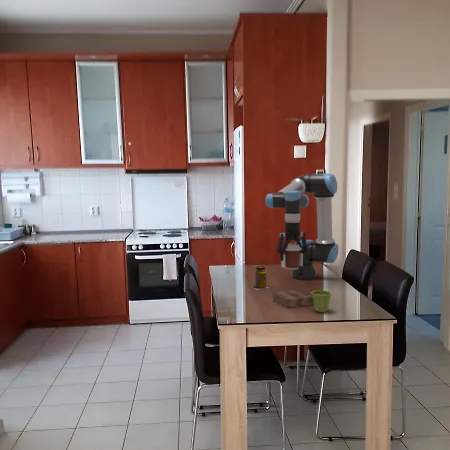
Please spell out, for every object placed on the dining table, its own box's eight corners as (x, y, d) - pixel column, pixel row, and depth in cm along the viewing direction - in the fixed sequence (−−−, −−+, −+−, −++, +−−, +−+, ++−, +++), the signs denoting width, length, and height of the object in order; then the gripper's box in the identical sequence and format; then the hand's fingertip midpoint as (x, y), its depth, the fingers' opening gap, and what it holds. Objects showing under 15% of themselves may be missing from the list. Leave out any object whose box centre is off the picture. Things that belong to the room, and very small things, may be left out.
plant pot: (308, 308, 221) (309, 290, 220) (327, 307, 222) (328, 289, 221) (314, 313, 212) (314, 295, 211) (334, 313, 213) (334, 294, 212)
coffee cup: (287, 270, 225) (287, 246, 223) (280, 267, 233) (280, 243, 232) (304, 269, 227) (304, 245, 226) (296, 266, 236) (296, 243, 235)
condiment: (269, 287, 261) (269, 267, 259) (257, 290, 256) (257, 269, 255) (261, 285, 267) (261, 265, 265) (249, 287, 262) (249, 266, 261)
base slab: (298, 297, 240) (298, 289, 240) (313, 304, 226) (313, 296, 226) (272, 300, 235) (272, 292, 235) (286, 308, 221) (286, 300, 221)
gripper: (308, 220, 235) (307, 263, 237) (269, 221, 228) (269, 266, 230) (315, 221, 228) (314, 266, 230) (276, 223, 221) (275, 269, 223)
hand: (292, 266), depth 230 cm, fingers closed on coffee cup, 9 cm apart
